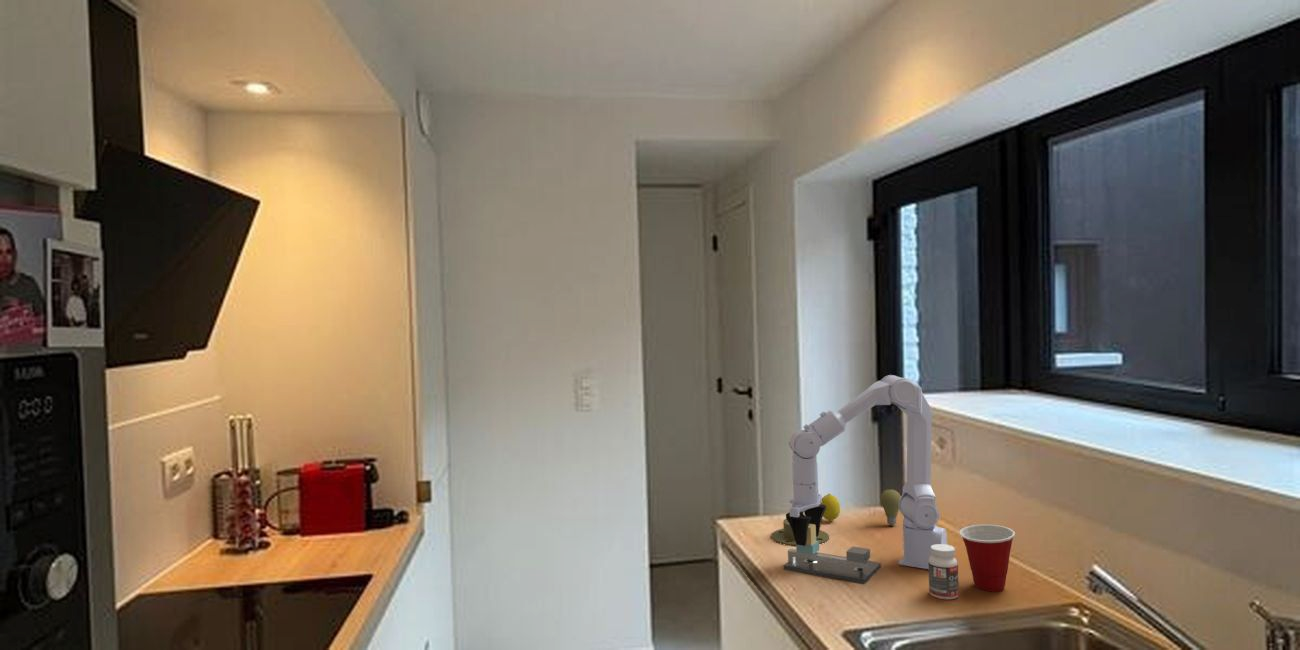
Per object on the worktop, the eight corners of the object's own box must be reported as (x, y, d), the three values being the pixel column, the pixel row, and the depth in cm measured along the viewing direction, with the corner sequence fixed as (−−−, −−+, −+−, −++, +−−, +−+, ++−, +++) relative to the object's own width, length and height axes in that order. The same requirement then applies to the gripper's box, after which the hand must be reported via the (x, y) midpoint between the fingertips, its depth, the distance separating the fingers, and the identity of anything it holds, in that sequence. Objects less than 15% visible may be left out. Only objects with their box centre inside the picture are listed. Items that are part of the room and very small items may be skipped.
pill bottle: (956, 602, 146) (954, 553, 146) (926, 597, 149) (925, 549, 149) (961, 592, 151) (959, 545, 151) (932, 587, 154) (930, 541, 154)
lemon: (841, 524, 201) (840, 496, 201) (820, 524, 202) (819, 496, 202) (839, 519, 207) (838, 491, 207) (820, 519, 208) (819, 491, 208)
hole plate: (881, 567, 168) (880, 562, 168) (864, 584, 158) (864, 578, 158) (803, 554, 178) (803, 549, 178) (783, 569, 169) (783, 564, 169)
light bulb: (882, 528, 197) (881, 492, 196) (879, 522, 202) (878, 487, 202) (904, 528, 196) (903, 492, 195) (900, 522, 201) (899, 487, 201)
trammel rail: (872, 571, 163) (872, 549, 163) (867, 576, 159) (866, 554, 159) (793, 557, 173) (792, 537, 173) (786, 562, 170) (786, 541, 170)
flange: (760, 523, 191) (811, 533, 181) (788, 510, 202) (838, 519, 192) (760, 541, 191) (812, 552, 181) (789, 527, 202) (839, 536, 193)
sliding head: (819, 560, 170) (818, 524, 170) (813, 566, 166) (811, 528, 166) (803, 558, 172) (802, 522, 172) (796, 563, 169) (795, 526, 169)
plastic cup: (951, 579, 159) (949, 524, 159) (998, 575, 160) (997, 521, 159) (977, 598, 148) (975, 539, 148) (1027, 594, 149) (1026, 536, 149)
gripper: (801, 474, 177) (803, 529, 177) (776, 487, 165) (778, 546, 165) (829, 477, 173) (831, 533, 173) (805, 490, 161) (807, 551, 161)
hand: (807, 540), depth 169 cm, fingers open, 7 cm apart
